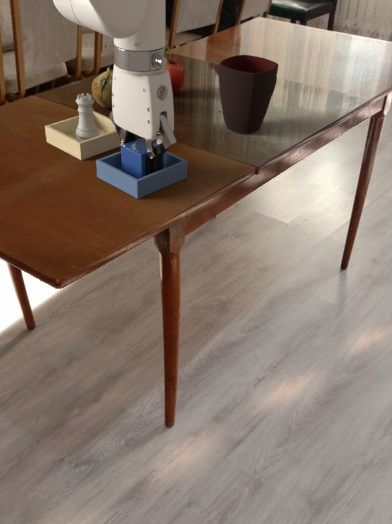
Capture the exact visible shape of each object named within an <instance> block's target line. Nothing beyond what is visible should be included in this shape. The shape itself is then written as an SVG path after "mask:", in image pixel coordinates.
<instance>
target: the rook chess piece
mask: <svg viewBox="0 0 392 524" xmlns="http://www.w3.org/2000/svg"><path fill="white" fill-rule="evenodd" d="M75 103H76V104H77V105H78V108H77V111H78V116H79V125H78V127H77V129H76V133H75V134H76V135H77V136H76V140H78V141H80V142H82V141H85V140H88V139H91V138H94V137H96V136H99V130H98V129H97V128H96V127H97V126H96V125H95V123H94V118H93V111H95V109H94V108H93V105H94V103H95V99H94V98H93V94H90V93H87V92H86V95H85V93H84V92H83V93H81V94H80V93H78V94H77V96H76V99H75Z"/></svg>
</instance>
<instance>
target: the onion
mask: <svg viewBox="0 0 392 524" xmlns="http://www.w3.org/2000/svg"><path fill="white" fill-rule="evenodd" d="M106 68H107V69H106V71H103V72H102V73H101V74H99V75H98V76H97V77H95V78H94V79H93V80H92V84H91V95H92V98H93V100H94V102H96V103H97V104H98V105H99V106H100V107H102V108H105V109H109V110H112V80H113V69H112V68H110V67H106Z"/></svg>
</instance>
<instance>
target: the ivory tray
mask: <svg viewBox="0 0 392 524" xmlns="http://www.w3.org/2000/svg"><path fill="white" fill-rule="evenodd" d="M93 118H94V123H95V125H96V126H97V127H96V128H97V129H98V130H99V136H96V137H94V138H91V139H88V140H85V141H82V142H80V141H78V140H76V136H77V135H76V134H75V133H76V129H77V127H78V125H79V115H76V116H72V117H70V118H66V119H64V120H60V121H57V122H54V123H50V124H47V125H44V131H45V132H44V133H45V139H46V143H47V144H50V145H51V146H53V147H55V148H57V149H59V150H61V151H63V152H65V153H67V154H69V155H70V156H72V157H74V158H76V159H78V160H80V161H83V160H86V159H89V158H92V157H94V156H97V155H101V154H103V153H106V152H108V151H111V150H113V149H114V150H115V149H117V148H119V147H120V148H121V144H120V142H119V138H120V136H119V135H118V133H117V131H116V128H115V126H114V124H113V123H112V121H111V119H110V117H109V116H106V115H104V114H101V113H100V112H97V111H95V110H93Z"/></svg>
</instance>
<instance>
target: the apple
mask: <svg viewBox="0 0 392 524" xmlns="http://www.w3.org/2000/svg"><path fill="white" fill-rule="evenodd" d="M165 49H167V52H169V55H170V57H165V58H166V59H167V65H166V66H165V69H167V70H169V75H170V79H171V85H172V93H173V96H174V95H178V94H179V93H180V91H181V89H182V86H183V85H184V82H185V73H186V72H185V67H184V65H183V64H182V62H180V61H179V60H178V59H176V58H173V57H174V55H175V53H174V52H173V51H171V49H170V45H169V44H168V43H165Z"/></svg>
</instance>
